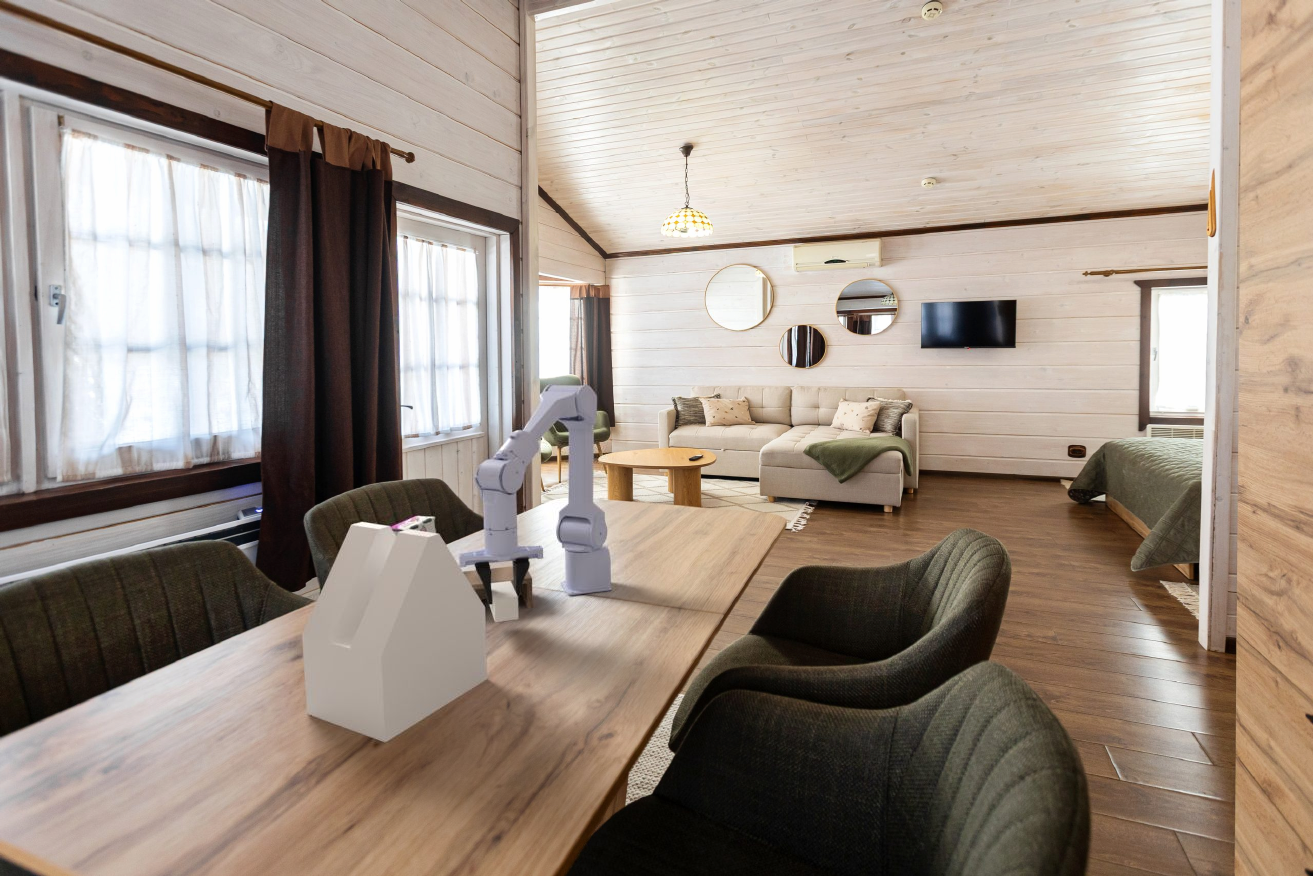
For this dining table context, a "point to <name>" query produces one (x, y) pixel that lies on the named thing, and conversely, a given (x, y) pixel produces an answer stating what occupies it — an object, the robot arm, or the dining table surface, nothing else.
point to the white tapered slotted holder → (392, 633)
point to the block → (504, 601)
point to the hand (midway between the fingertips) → (503, 600)
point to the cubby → (501, 576)
